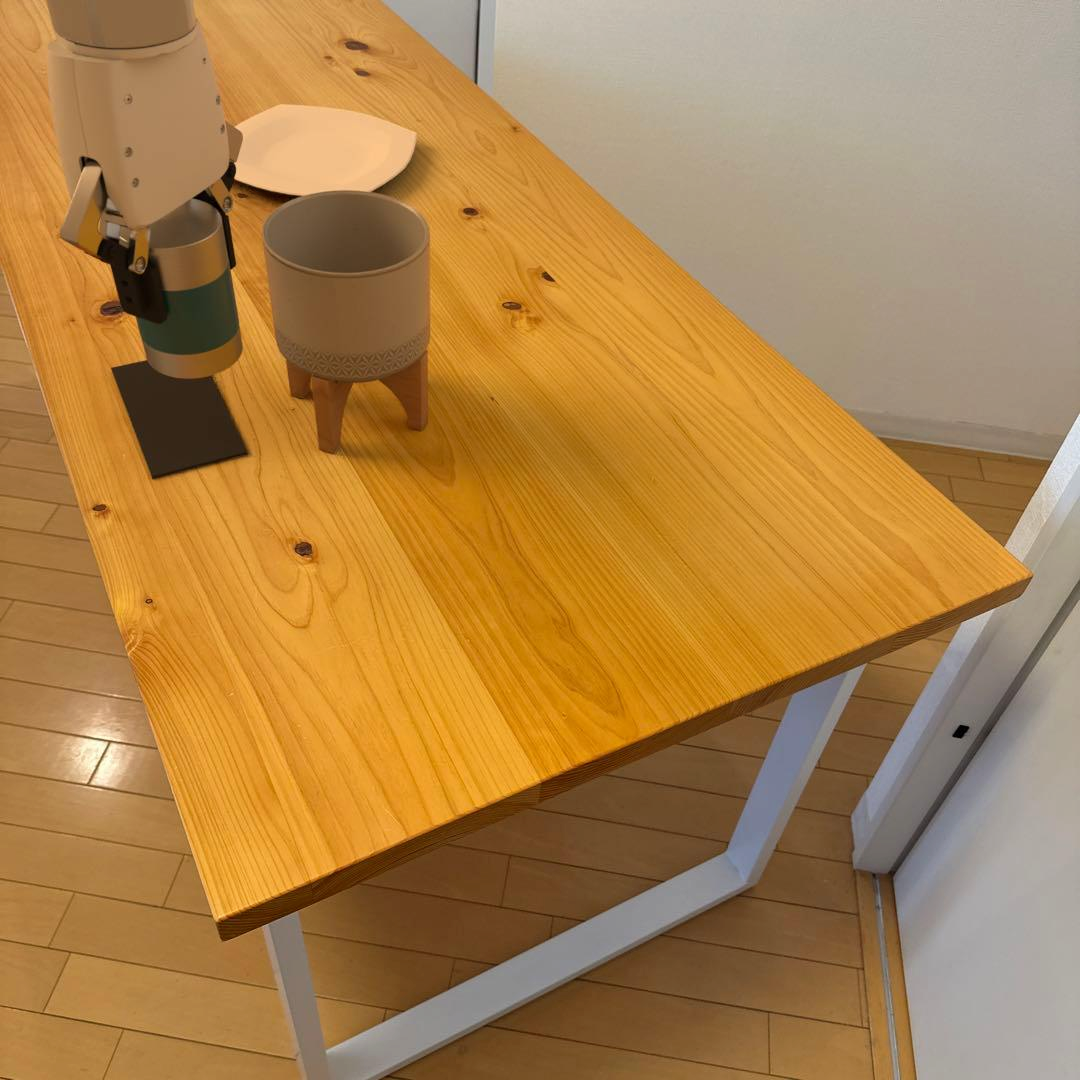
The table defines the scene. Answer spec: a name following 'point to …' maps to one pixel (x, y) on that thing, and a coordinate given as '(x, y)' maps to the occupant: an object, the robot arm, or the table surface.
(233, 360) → the can
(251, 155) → the plate
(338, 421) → the planter
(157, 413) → the black flat rectangular slab
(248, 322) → the table surface
